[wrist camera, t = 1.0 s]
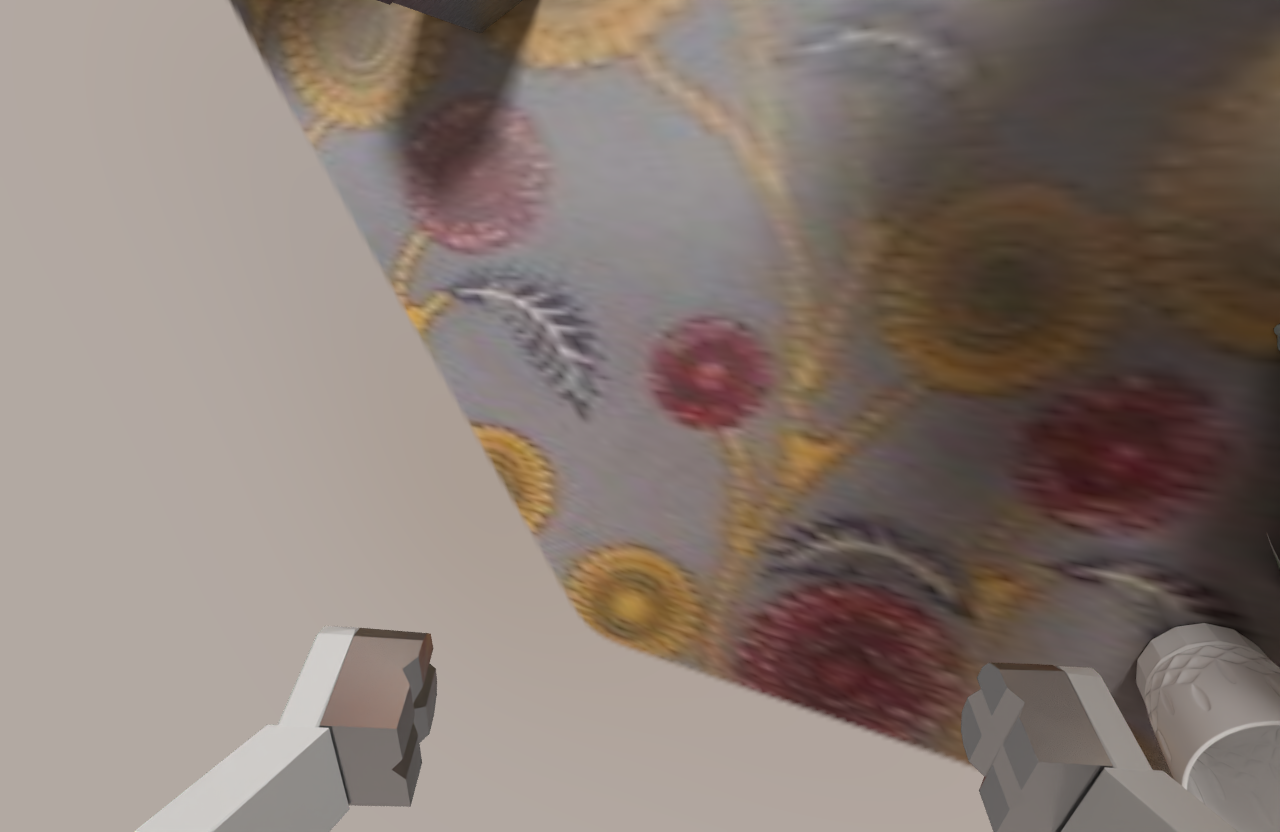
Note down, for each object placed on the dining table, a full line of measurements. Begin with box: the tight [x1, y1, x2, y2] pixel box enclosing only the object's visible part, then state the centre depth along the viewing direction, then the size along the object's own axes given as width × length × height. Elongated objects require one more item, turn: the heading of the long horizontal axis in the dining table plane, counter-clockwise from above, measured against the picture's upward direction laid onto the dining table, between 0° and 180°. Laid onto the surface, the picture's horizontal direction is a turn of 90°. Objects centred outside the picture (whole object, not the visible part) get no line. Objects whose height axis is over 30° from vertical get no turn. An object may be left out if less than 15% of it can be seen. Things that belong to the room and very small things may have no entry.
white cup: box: [1136, 623, 1280, 832], centre depth 43 cm, size 8×8×10 cm
